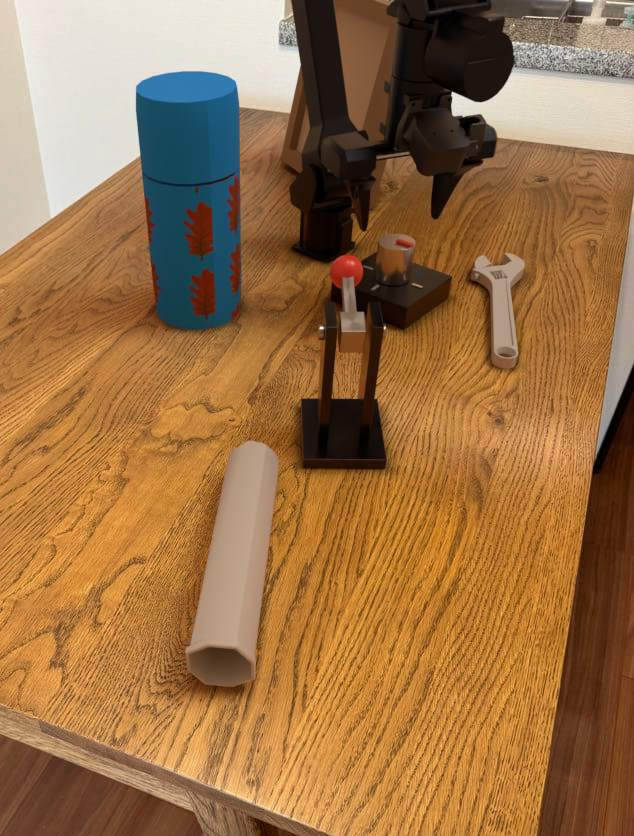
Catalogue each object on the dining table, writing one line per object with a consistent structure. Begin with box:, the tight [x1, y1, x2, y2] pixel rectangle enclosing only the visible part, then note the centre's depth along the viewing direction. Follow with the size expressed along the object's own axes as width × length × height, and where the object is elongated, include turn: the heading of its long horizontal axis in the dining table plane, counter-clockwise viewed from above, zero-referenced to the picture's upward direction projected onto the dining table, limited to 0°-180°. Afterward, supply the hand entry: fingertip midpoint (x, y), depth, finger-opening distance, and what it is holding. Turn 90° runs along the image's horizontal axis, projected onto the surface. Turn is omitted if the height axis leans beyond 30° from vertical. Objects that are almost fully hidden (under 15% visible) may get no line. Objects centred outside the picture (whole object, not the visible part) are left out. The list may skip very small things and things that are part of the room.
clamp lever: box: [329, 254, 366, 354], centre depth 73 cm, size 12×3×3 cm, turn 178°
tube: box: [184, 439, 280, 688], centre depth 66 cm, size 5×5×25 cm
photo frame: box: [280, 0, 398, 210], centre depth 116 cm, size 15×22×25 cm
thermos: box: [135, 70, 242, 331], centre depth 89 cm, size 11×11×25 cm
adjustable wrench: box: [470, 252, 526, 370], centre depth 95 cm, size 25×6×2 cm, turn 164°
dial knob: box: [374, 233, 417, 286], centre depth 94 cm, size 4×4×5 cm
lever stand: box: [300, 301, 388, 470], centre depth 74 cm, size 10×8×14 cm
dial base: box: [329, 251, 453, 331], centre depth 97 cm, size 11×10×3 cm
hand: (399, 224), depth 91 cm, fingers open, 9 cm apart
